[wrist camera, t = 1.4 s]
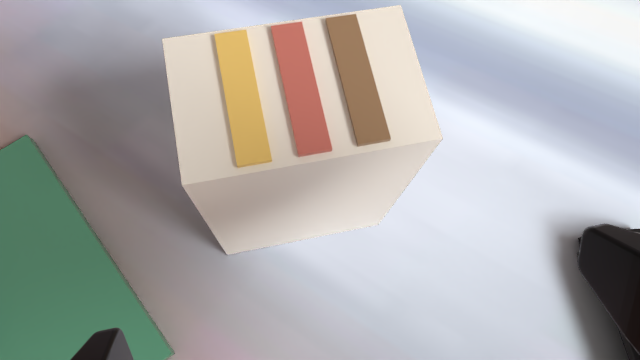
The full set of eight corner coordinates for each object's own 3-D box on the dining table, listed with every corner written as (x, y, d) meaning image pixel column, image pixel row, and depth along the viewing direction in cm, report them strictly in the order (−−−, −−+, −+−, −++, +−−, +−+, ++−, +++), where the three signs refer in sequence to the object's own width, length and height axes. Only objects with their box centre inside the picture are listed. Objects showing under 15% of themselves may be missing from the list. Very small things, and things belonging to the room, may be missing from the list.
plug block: (378, 225, 23) (444, 135, 13) (227, 255, 22) (180, 183, 12) (356, 138, 24) (401, 1, 15) (213, 164, 23) (160, 35, 14)
